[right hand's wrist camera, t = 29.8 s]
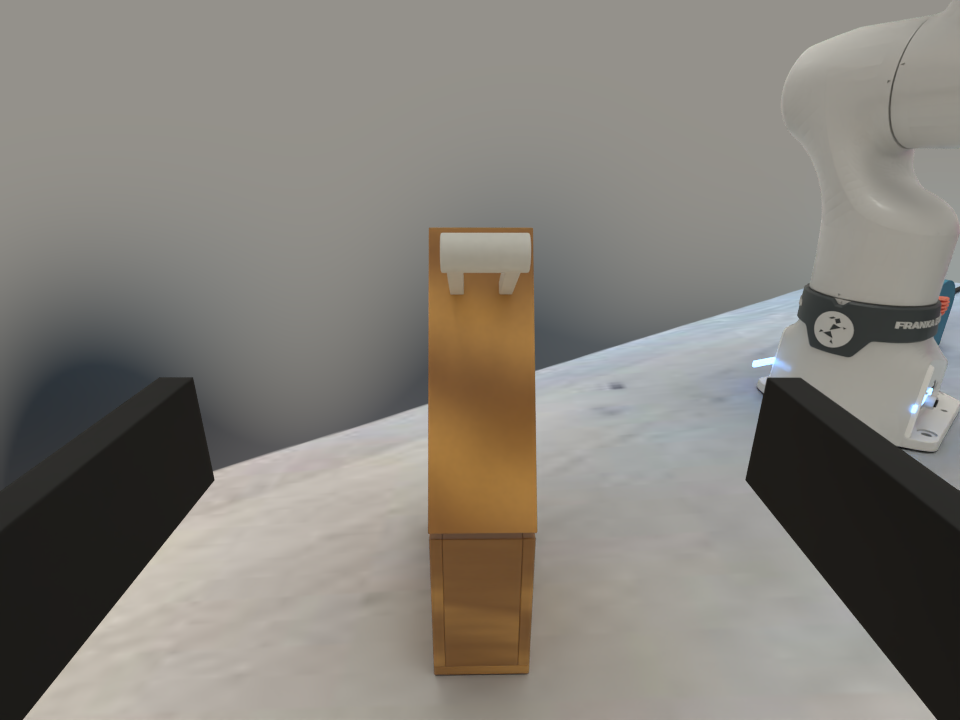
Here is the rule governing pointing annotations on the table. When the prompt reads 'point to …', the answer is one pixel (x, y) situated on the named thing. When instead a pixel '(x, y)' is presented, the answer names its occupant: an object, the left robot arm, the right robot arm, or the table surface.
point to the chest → (481, 602)
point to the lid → (481, 382)
